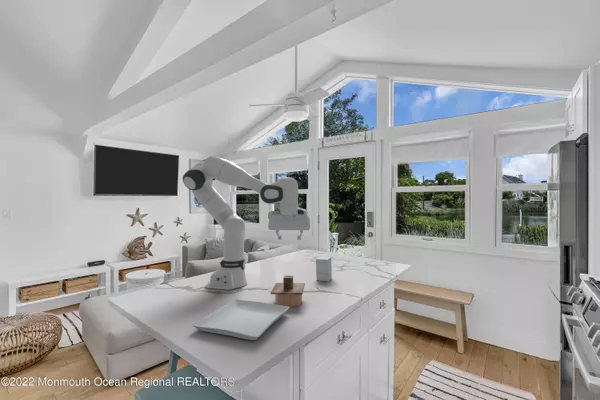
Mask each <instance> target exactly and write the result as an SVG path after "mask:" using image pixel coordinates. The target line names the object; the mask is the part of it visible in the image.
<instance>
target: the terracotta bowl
mask: <svg viewBox="0 0 600 400" xmlns="http://www.w3.org/2000/svg"><path fill="white" fill-rule="evenodd" d="M274 295H275V298H274V301H275V303H274V304H276V305H282V306H288V307H290V308H294V307H298V306H300V305H301V304H302V303H303V294H302V295H286V294H274Z"/></svg>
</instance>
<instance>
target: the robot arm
mask: <svg viewBox="0 0 600 400" xmlns="http://www.w3.org/2000/svg"><path fill="white" fill-rule="evenodd" d="M216 180H217V181H218V182H220V183H223V184H225V185H228V186H232V187H240V188H245V189H250V190H251V191H254V192H256V193H259V196H260V199H261V200H262V201H263V203H266V204H268V205H279V204H280V205H279V210H270V211H269V212H268V214H267V218H268V226H267V228H268V230H269V231H275V234H276V236H277V240H279V241H280V240H282V235H280V231H299V233H300V234H299V235H297V240H298V241H300V240H301V239H302V235H303V234H304V231H309V230H311V220H310V217H309V215H308V212H309V211H308V210H307V209H305V208H302V207H299V202H298V198H299V186H298V181H297V180H296V179H295V178H292V177H289V176H288V177H287V176H282V177H281V178H280V179H278V180H276V181H274V182H271V183H266V182H265V181H262V180H261V179H258V178H256V177H254V176H253V175H251V174H250V173H248V172H247V171H246V170H244V169H243V168H241V167H240V166H239V165H237V164H235V163H234V162H232V161H229V160H227V159H225V158H222V157H220V156H216V155H210V156H208V157H206V158H205V159H203V160H202V161H200V162H198V163H196V164H195V165H194V166H192V167H191V168H190V169H188V170H186V172H185V173H184V174H183V175H182V181H183V184H184V186H185V187H186V188H187V189H189V190H191V192H192V194H193V196H194V198H195V199H196V200H197V201H198V202H199V204H200V205H201V207H203V208H204V209H205V211H206V212H207V213H208V214H209V215H210V216H211V217H212V218H213V219H214V220H215V221H216V223H217V224H218V225H219V226H220V227H221V228H222V229H223V230H224V231H223V235H224V236H223V259H222V260H220V262H219V265H220V267H218V268H217V269H216V270H215V271H214V272H213V273H211V275H210V279H209V281H208V282H207V283H205V288H206V289H215V290H228V291H231V290H234V289H238V288H243V287H246V286H247V285H248V281H247V277H246V276H247V275H246V272H245V269H246V259H245V237H246V235H245V234H246V223H245V220H244V219H243V218H242V217H241V216H239V215H238V214H237V213H236V212H235V211H234V209H233V208H232V207H231V205H229V202H227V200H225V198H223V196H222V195H221V194H220V193H219V192H218V191H217V189H216V188H215V187H214V186H213V182H212V181H216Z"/></svg>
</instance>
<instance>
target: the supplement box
mask: <svg viewBox="0 0 600 400" xmlns="http://www.w3.org/2000/svg"><path fill="white" fill-rule="evenodd" d="M332 274H333V272H332V257H330V256H319V257H317V258H315V276H316V277H315V278H316V281H321V282H329V281H330V280H331V279H333V276H332Z"/></svg>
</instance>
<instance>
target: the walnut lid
mask: <svg viewBox="0 0 600 400" xmlns="http://www.w3.org/2000/svg"><path fill="white" fill-rule="evenodd" d="M282 281H283V282H276V283H275V284H274V286H273V288H272V289H271V291H270V295H275V294H286V295H302V296H303V294H304V289H305V285H306V284H305V282H294V275H283V280H282Z"/></svg>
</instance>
